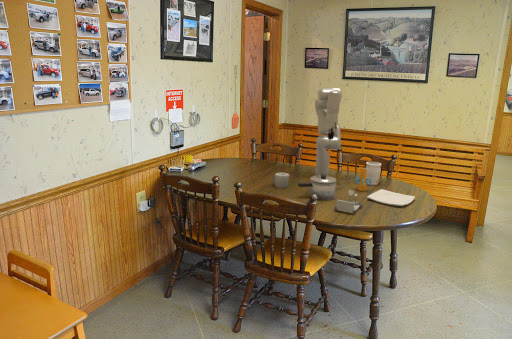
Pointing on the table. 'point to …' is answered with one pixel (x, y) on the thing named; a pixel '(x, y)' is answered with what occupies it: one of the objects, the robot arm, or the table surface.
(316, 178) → the lid
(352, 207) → the toy car
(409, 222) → the table surface
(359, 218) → the table surface
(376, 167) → the jar
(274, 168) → the table surface
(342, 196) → the table surface
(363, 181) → the orange blue upright piece
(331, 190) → the pot
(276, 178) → the toilet tissue
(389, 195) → the plate
